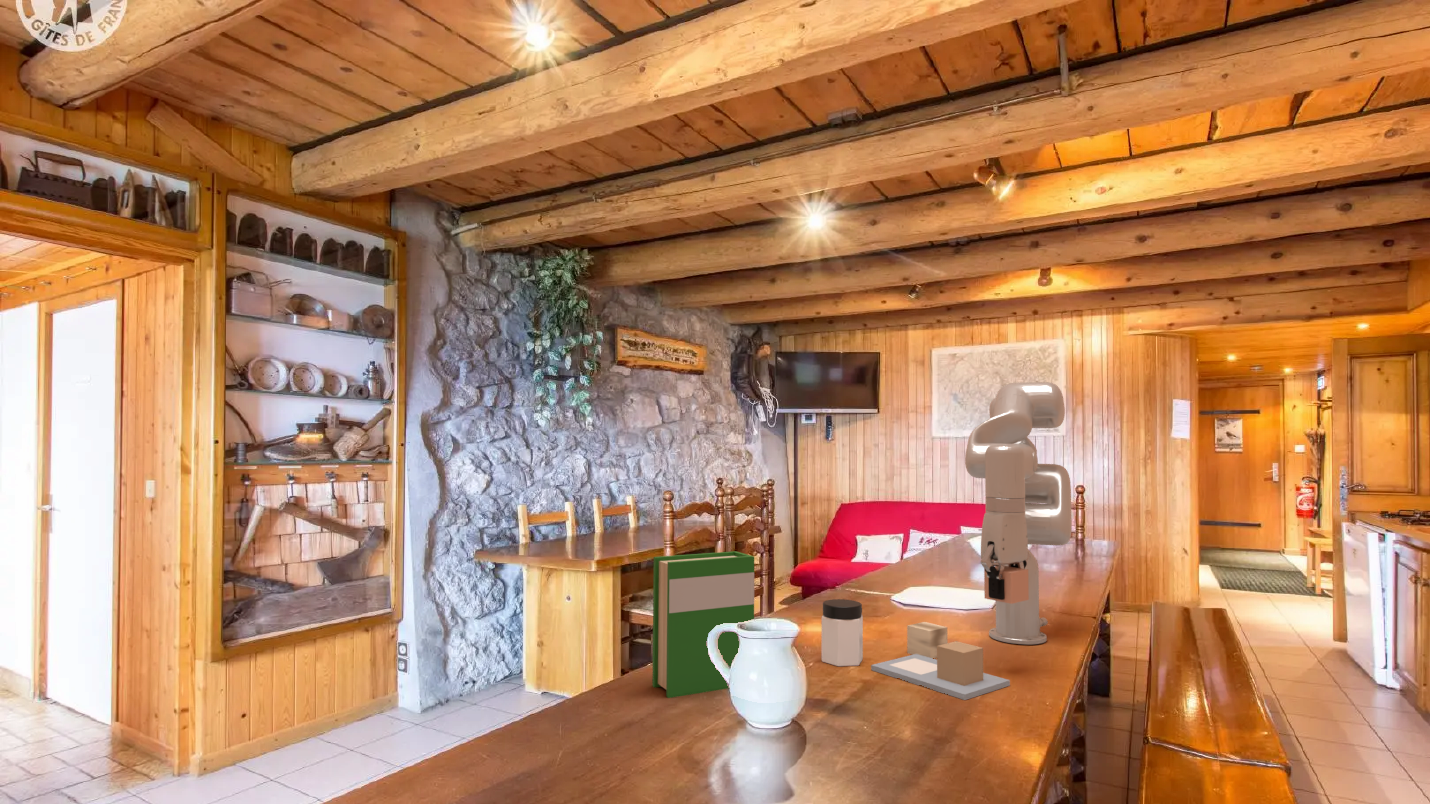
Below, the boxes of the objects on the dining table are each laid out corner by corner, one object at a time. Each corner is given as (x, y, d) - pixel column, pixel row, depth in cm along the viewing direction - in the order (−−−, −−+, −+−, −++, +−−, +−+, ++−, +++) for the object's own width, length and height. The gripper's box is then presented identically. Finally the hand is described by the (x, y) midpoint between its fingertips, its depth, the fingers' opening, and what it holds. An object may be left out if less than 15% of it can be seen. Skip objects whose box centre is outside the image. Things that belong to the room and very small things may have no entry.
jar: (871, 662, 161) (871, 604, 162) (845, 669, 156) (845, 609, 156) (839, 652, 168) (839, 597, 168) (813, 659, 163) (813, 601, 163)
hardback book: (668, 698, 138) (669, 562, 139) (652, 686, 145) (653, 556, 146) (753, 684, 146) (754, 556, 147) (735, 673, 153) (735, 551, 154)
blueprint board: (916, 658, 164) (916, 625, 164) (1009, 685, 146) (1009, 648, 146) (871, 670, 155) (871, 634, 156) (964, 700, 138) (964, 660, 138)
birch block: (924, 649, 172) (924, 621, 172) (947, 655, 167) (947, 627, 167) (907, 653, 168) (907, 625, 168) (930, 659, 163) (929, 631, 164)
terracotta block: (1001, 594, 159) (1001, 565, 160) (1028, 599, 154) (1028, 569, 155) (984, 598, 156) (984, 568, 156) (1011, 603, 151) (1011, 572, 151)
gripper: (1012, 502, 164) (1013, 588, 163) (963, 507, 154) (964, 598, 153) (1046, 505, 158) (1047, 594, 157) (996, 510, 148) (998, 605, 147)
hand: (1006, 595), depth 155 cm, fingers closed on terracotta block, 6 cm apart
